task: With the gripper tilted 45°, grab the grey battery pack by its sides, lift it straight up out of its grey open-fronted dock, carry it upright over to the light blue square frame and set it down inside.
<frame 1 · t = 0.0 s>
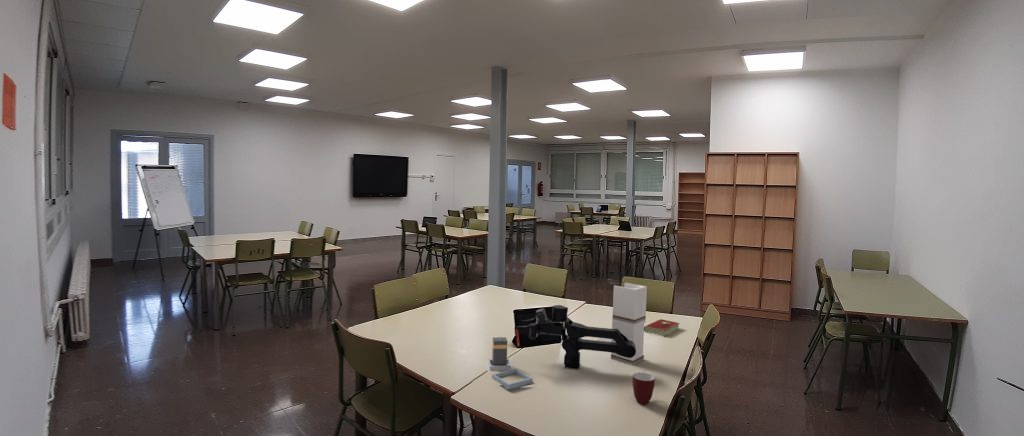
hand: (518, 324, 218), 17 cm above the table, tool horizontal, fingers open, 9 cm apart
light blue square frame: (511, 382, 194), on the table
hardcover book: (661, 331, 271), on the table
mug: (643, 401, 180), on the table
gadget: (619, 341, 252), on the table
dock: (499, 368, 209), on the table
banded white pillar: (627, 359, 224), on the table
grey battery pack: (499, 365, 209), point 1 cm above the table, touching dock
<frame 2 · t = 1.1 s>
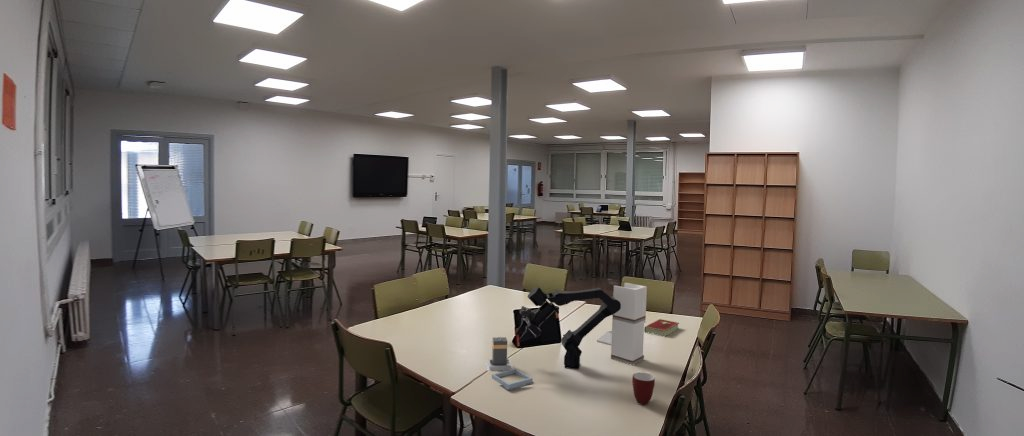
hand: (517, 337, 209), 13 cm above the table, tool tilted 45°, fingers open, 9 cm apart
nothing on the table moved.
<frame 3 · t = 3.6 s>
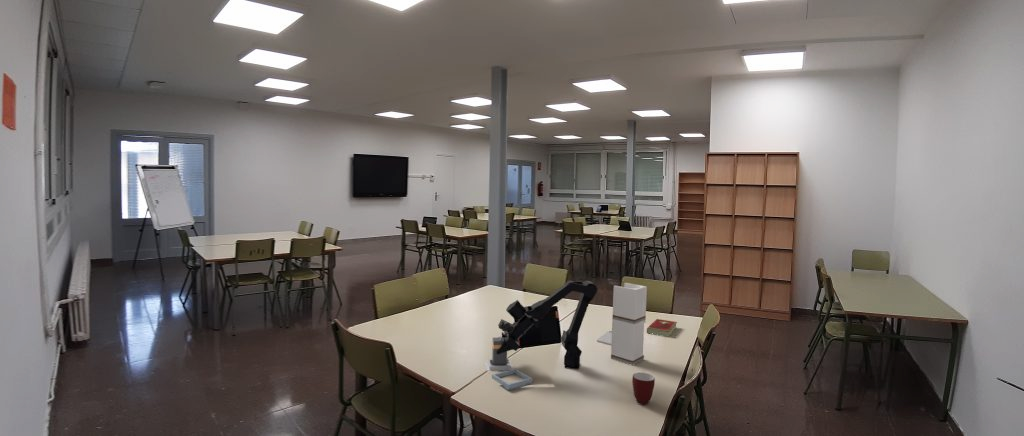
hand: (496, 351, 209), 8 cm above the table, tool tilted 45°, fingers closed on grey battery pack, 5 cm apart
grey battery pack: (499, 365, 209), point 1 cm above the table, touching dock, gripper
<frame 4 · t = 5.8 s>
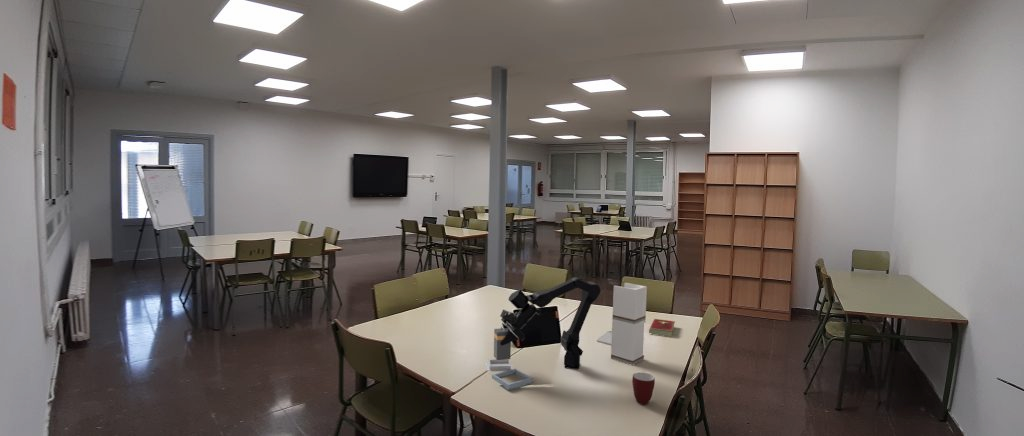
hand: (499, 342, 202), 13 cm above the table, tool tilted 45°, fingers closed on grey battery pack, 5 cm apart
grey battery pack: (502, 357, 203), point 7 cm above the table, touching gripper
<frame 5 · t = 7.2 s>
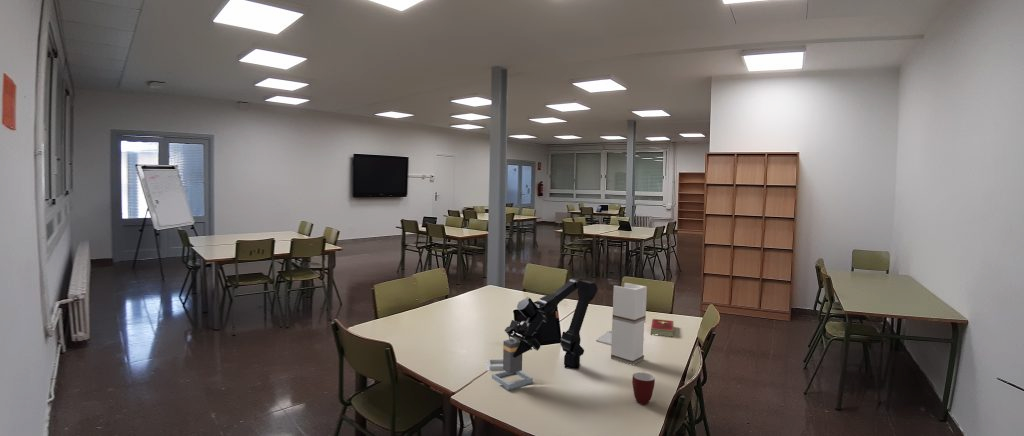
hand: (510, 354, 193), 12 cm above the table, tool tilted 45°, fingers closed on grey battery pack, 5 cm apart
grey battery pack: (512, 369, 194), point 5 cm above the table, touching gripper
when the fingers open (9 cm above the table, at t = 8.2 s): grey battery pack drops 1 cm, resting on light blue square frame.
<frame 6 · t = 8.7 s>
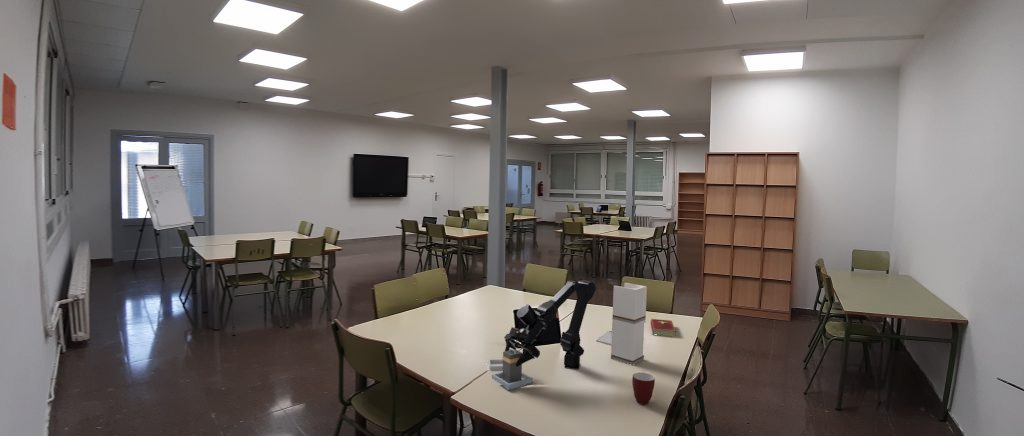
hand: (509, 362, 193), 9 cm above the table, tool tilted 45°, fingers open, 9 cm apart
grey battery pack: (511, 380, 194), point 1 cm above the table, touching light blue square frame
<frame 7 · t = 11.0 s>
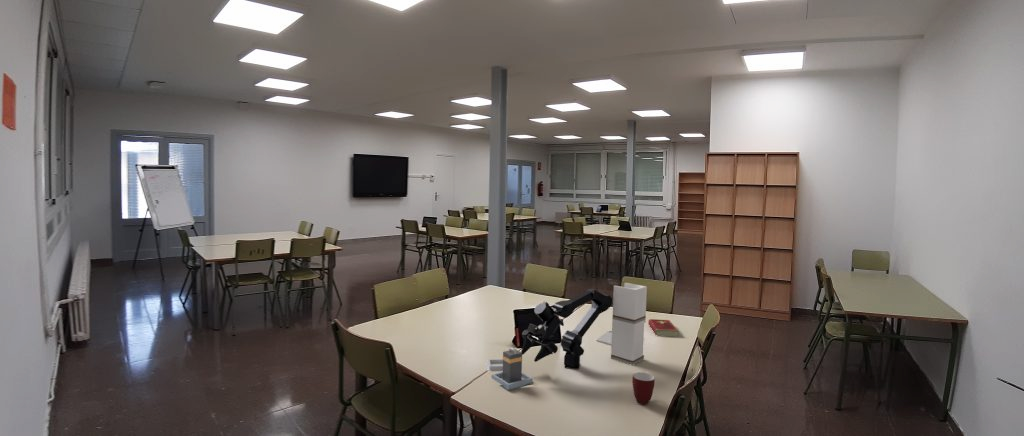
hand: (528, 357, 199), 9 cm above the table, tool tilted 45°, fingers open, 9 cm apart
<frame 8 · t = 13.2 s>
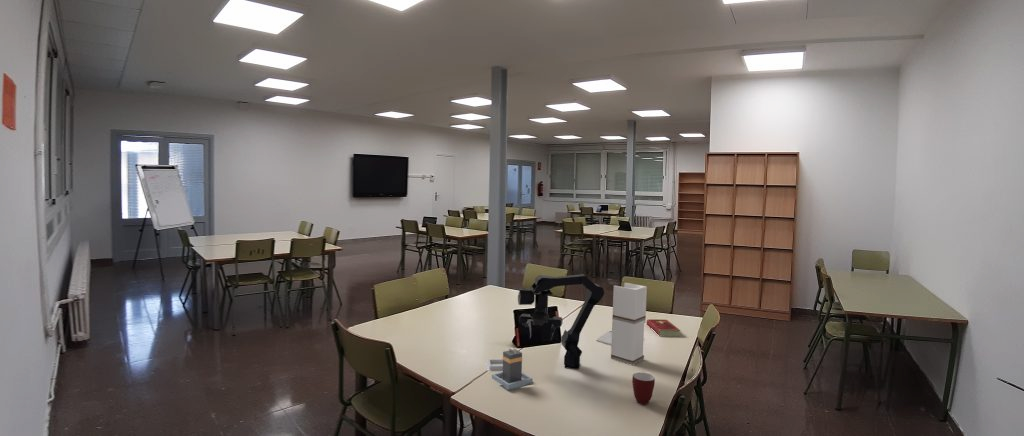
hand: (540, 339, 210), 13 cm above the table, tool pointing down, fingers open, 9 cm apart
at the end: grey battery pack 0.0 cm off-centre on the light blue square frame, point 0.6 cm above the light blue square frame's base; grey battery pack tilted 0°; the gripper is holding nothing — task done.
